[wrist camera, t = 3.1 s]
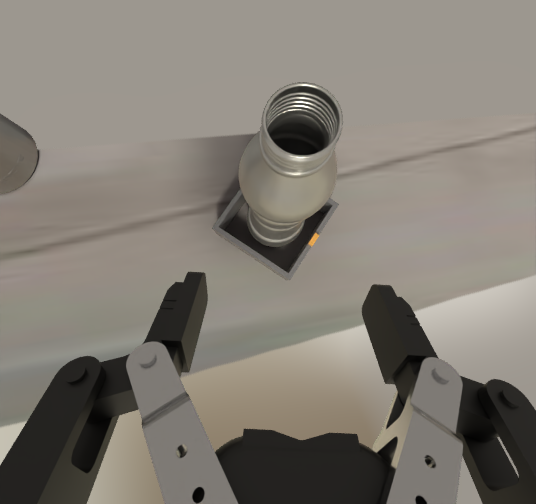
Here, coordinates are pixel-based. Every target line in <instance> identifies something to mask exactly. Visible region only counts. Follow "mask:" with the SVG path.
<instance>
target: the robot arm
mask: <svg viewBox="0 0 536 504" xmlns="http://www.w3.org/2000/svg"><path fill="white" fill-rule="evenodd" d="M37 159H38V153H37V147H36V144H35V141H34V140H33V138H32V136H31V135H30V134H29V133H28V132H27V131H26V130H24V129H23V128H21V127H20V126H18V125H17V124H15V123H14V122H12V121H11V120H9V119H8V118H6V117H4V116H3V115H1V114H0V194H5V193H9V192H11V191H13V190H16V189H17V188H19V187H20V186H22V185H23V184H24V183H25V182H26V181H27V180H28V179H29V178H30V176H31V175H32V173H33V172H34V169H35V167H36V164H37ZM207 299H208V294H207V285H206V276H205V273H201V272H188V273H187V275H186V278H185V280H184V283H182V282H175V283H174V284H173V285H172V286H171V287H170V288H169V289H168V290H167V293H166V295H165V297H164V299H163V302H162V304H161V306H160V309H159V310H158V313H157V315H156V317H155V319H154V322H153V324H152V326H151V328H150V331H149V333H148V335H147V337H146V339H145V341H144V343H143V344H142V345H140V346H138V347H137V348H135V349H134V350H133V351H132V353H131V354H129V355H126V356H124V357H120V358H116V359H112V360H108V361H104V362H99V360H97V359H96V358H94V357H91V356H84V357H79V358H77V359H74V360H72V361H70V362H69V363H67V364H66V365H64V366H63V367H62V368H61V369H60V370H59V371H58V373H57V374H56V375H55V377H54V379H53V380H52V382H51V383H50V385H49V387H48V388H47V390H46V392H45V393H44V395H43V397H42V398H41V400H40V401H39V403H38V405H37V406H36V408H35V410H34V411H33V413H32V415H31V416H30V418H29V419H28V421H27V423H26V424H25V426H24V428H23V429H22V431H21V432H20V434H19V436H18V438H17V439H16V441H15V442H14V444H13V446H12V448H11V449H10V451H9V452H8V454H7V455H6V457H5V459H4V460H3V462H2V464H1V465H0V504H86V503H87V501H88V498H89V496H90V493H91V490H92V488H93V485H94V482H95V479H96V477H97V474H98V471H99V469H100V466H101V463H102V460H103V458H104V455H105V452H106V449H107V447H108V444H109V442H110V439H111V436H112V433H113V431H114V428H115V425H116V423H117V420H118V417H119V415H122V414H125V413H128V412H132V411H135V410H138V409H139V411H140V414H141V418H142V428H143V432H144V436H145V439H146V443H147V446H148V449H149V453H150V456H151V459H152V463H153V466H154V469H155V472H156V476H157V479H158V482H159V486H160V489H161V493H162V496H163V499H164V502H165V504H456V500H457V492H458V485H459V477H460V468H461V461H462V456H463V458H464V460H465V463H466V465H467V467H468V470H469V472H470V475H471V477H472V479H473V481H474V484H475V486H476V489H477V491H478V494H479V496H480V498H481V501H482V503H483V504H536V410H535V409H534V407H533V406H532V405H531V403H530V402H529V400H528V399H527V398H526V397H525V395H524V394H523V393H522V392H521V391H519V390H518V389H517V388H515V387H514V386H512V385H511V384H509V383H507V382H505V381H502V380H497V379H493V380H490V381H488V382H487V383H486V384H482V383H479V382H476V381H473V380H470V379H467V378H465V377H462V376H460V375H459V374H458V373H457V371H456V370H455V369H454V368H453V367H452V366H451V365H449V364H448V363H447V362H445V361H443V360H441V359H439V358H438V357H437V355H436V353H435V351H434V349H433V347H432V346H431V344H430V342H429V340H428V338H427V336H426V335H425V333H424V331H423V329H422V327H421V326H420V323H419V321H418V320H417V318H415V314H414V312H413V310H412V308H411V307H410V305H409V304H408V303H407V302H406V301H405V300H404V299H403V298H402V297H397V296H396V294H395V292H394V290H393V288H392V287H391V286H390V285H376V284H374V285H372V287H371V289H370V291H369V293H368V295H367V297H366V299H365V301H364V303H363V306H362V316H363V319H364V322H365V325H366V328H367V331H368V334H369V337H370V340H371V343H372V346H373V349H374V352H375V355H376V358H377V361H378V364H379V367H380V370H381V373H382V376H383V379H384V382H385V384H395V385H396V388H397V391H396V393H395V395H394V397H393V400H392V403H391V406H390V409H389V411H388V414H387V417H386V420H385V422H384V425H383V428H382V431H381V433H380V435H379V437H378V438H377V440H376V441H375V443H374V445H373V447H372V449H370V448H369V447H367V446H365V445H363V444H361V443H359V441H358V436H357V434H344V433H327V434H324V435H320V436H317V437H313V438H310V439H306V440H298V439H295V438H292V437H289V436H286V435H284V434H281V433H278V432H276V431H273V430H257V429H244V432H243V436H242V437H238V438H235V439H233V440H231V441H229V442H227V443H226V444H224V445H223V446H221V447H220V448H219V449H218V450H217V451H216V452H214V449H213V448H212V445H211V443H210V441H209V438H208V436H207V434H206V432H205V430H204V427H203V425H202V423H201V421H200V419H199V416H198V415H197V412H196V410H195V408H194V405H193V403H192V401H191V399H190V397H189V395H188V394H187V393H186V391H185V388H184V386H183V384H182V382H181V380H180V376H181V373H182V372H189V371H190V367H191V363H192V360H193V356H194V352H195V348H196V345H197V341H198V337H199V333H200V329H201V326H202V322H203V318H204V314H205V310H206V307H207ZM497 437H500V439H501V440H502V442H503V444H504V446H505V448H506V450H507V452H508V453H509V455H510V457H511V459H512V460H513V463H514V465H515V466H516V468H517V471H518V474H519V478H518V476H517V474H516V472H515V470H514V468H513V466H512V465H511V463H510V461H509V459H508V457H507V455H506V453H505V451H504V449H503V448H502V446H501V444H500V442H499V440H498V438H497Z"/></svg>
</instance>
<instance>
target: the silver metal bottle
mask: <svg viewBox="0 0 536 504" xmlns="http://www.w3.org/2000/svg"><path fill="white" fill-rule="evenodd" d="M342 125H343V115H342V111H341V108H340V105H339V103H338V101H337V100H336V99H335V97H334V96H333V95H332V94H331V93H330V92H329V91H328V90H326V89H324V88H323V87H321V86H318V85H316V84H312V83H307V82H302V83H301V82H299V83H293V84H289V85H287V86H284V87H283V88H281V89H279V90H278V91H277V92H276V93H275V94H273V95H272V96H271V98H270V99H269V101H268V102H267V104H266V106H265V109H264V112H263V116H262V126H261V129H260V131H259V132H258V133H257V134H256V135H255V136H254V137H253V138H252V139H251V141H250V142H249V143H248V145H247V147H246V149H245V151H244V153H243V155H242V157H241V160H240V164H239V172H238V179H239V184H240V188H241V191H242V193H243V196H244V198H245V200H246V202H247V203H248V205H249V209H248V213H247V225H248V228H249V231H250V233H251V234H252V236H253V237H254V238H255V239H256V240H257V241H258V242H260V243H261V244H264V245H266V246H271V247H280V246H284V245H287V244H289V243H291V242H292V241H294V240H295V239H296V238H297V237H298V236H299V234H300V233H301V231H302V229H303V226H304V223H305V219H306V218H309V217H310V216H312V215H313V214H314V213H316V212H317V211H318V210H320V209H321V208H322V207H323V205H324V204H325V203H326V202H327V201H328V199H329V198H330V196H331V195H332V192H333V190H334V187H335V184H336V178H337V159H336V155H335V151H334V149H335V145H336V143H337V141H338V139H339V137H340V134H341V131H342Z"/></svg>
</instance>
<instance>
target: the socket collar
mask: <svg viewBox="0 0 536 504" xmlns="http://www.w3.org/2000/svg"><path fill="white" fill-rule="evenodd" d="M245 201H246V200H245V198H244V196H243V193H242V191H241V188H240V189H239V191H238V192H237V194H236V195H235V196H234V198H233V199H232V201H231V202H230V203H229V205H228V206H227V208H226V209H225V211H224V212H223V213H222V215H221V216H220V218H219V219H218V220H217V222H216V223H215V225H214V226H213V227H212V229H213V230H214V231H215V232H216V233H217V234H218V235H219V236H221V237H222V238H224V239H225V240H227V241H228V242H230V243H231V244H233V245H234V246H236V247H237V248H239V249H240V250H242V251H243V252H245V253H246V254H248V255H249V256H251V257H252V258H254V259H255V260H257V261H258V262H260V263H261V264H263V265H264V266H266V267H267V268H269V269H270V270H272V271H273V272H275V273H276V274H278V275H279V276H281V277H282V278H284V279H285V280H290V279H291V278H292V276H293V275H294V273H295V271H296V270H297V268H298V267H299V265H300V264H301V262H302V261H303V259H304V258H305V256H306V254H307V253H308V251H309V250H310V248H311V247H312V246H313V244H314V243H315V241H316V240H317V238H318V237H319V234H320V233H321V231H322V230H323V228H324V227H325V225H326V223H327V222H328V220H329V219H330V217H331V216H332V214H333V213H334V211H335V209H336V208H337V206H338V205H339V204H338V203H337V202H335V201H333V200H332V199H330V198H329V199H328V201H327V202H326V203H325V204H324V205H323V207H322V208H321V209H320V211H321V212H323V213H324V215H323V217H322V218H321V220H320V221H319V223H318V225H317V226H316V228H315V229H314V231H313V232H312V234H311V235H310V237H309V238H308V240H307V241H306V243H305V245H304V246H303V248H302V249H301V251H300V252H299V254H298V255H297V257H296V258H295V260H294V261H293V263H292V265H291V266H290V268H289V269H288V271H287V272H286V271H284V270H283V269H281V268H280V267H278V266H277V265H275V264H274V263H272V262H271V261H269V260H268V259H266V258H265V257H263V256H262V255H260V254H259V253H257V252H256V251H254V250H253V249H251V248H250V247H248V246H247V245H245V244H244V243H242V242H241V241H239V240H238V239H236V238H235V237H233V236H232V235H230V234H229V233H227V232H226V231H225V230H226V228H227V227H228V225H229V224H230V223H231V221H232V220H233V218H234V217H235V215H236V214H237V213H238V211H239V210H240V208H241V207H242V205H243V204H244V203H245Z"/></svg>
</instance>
